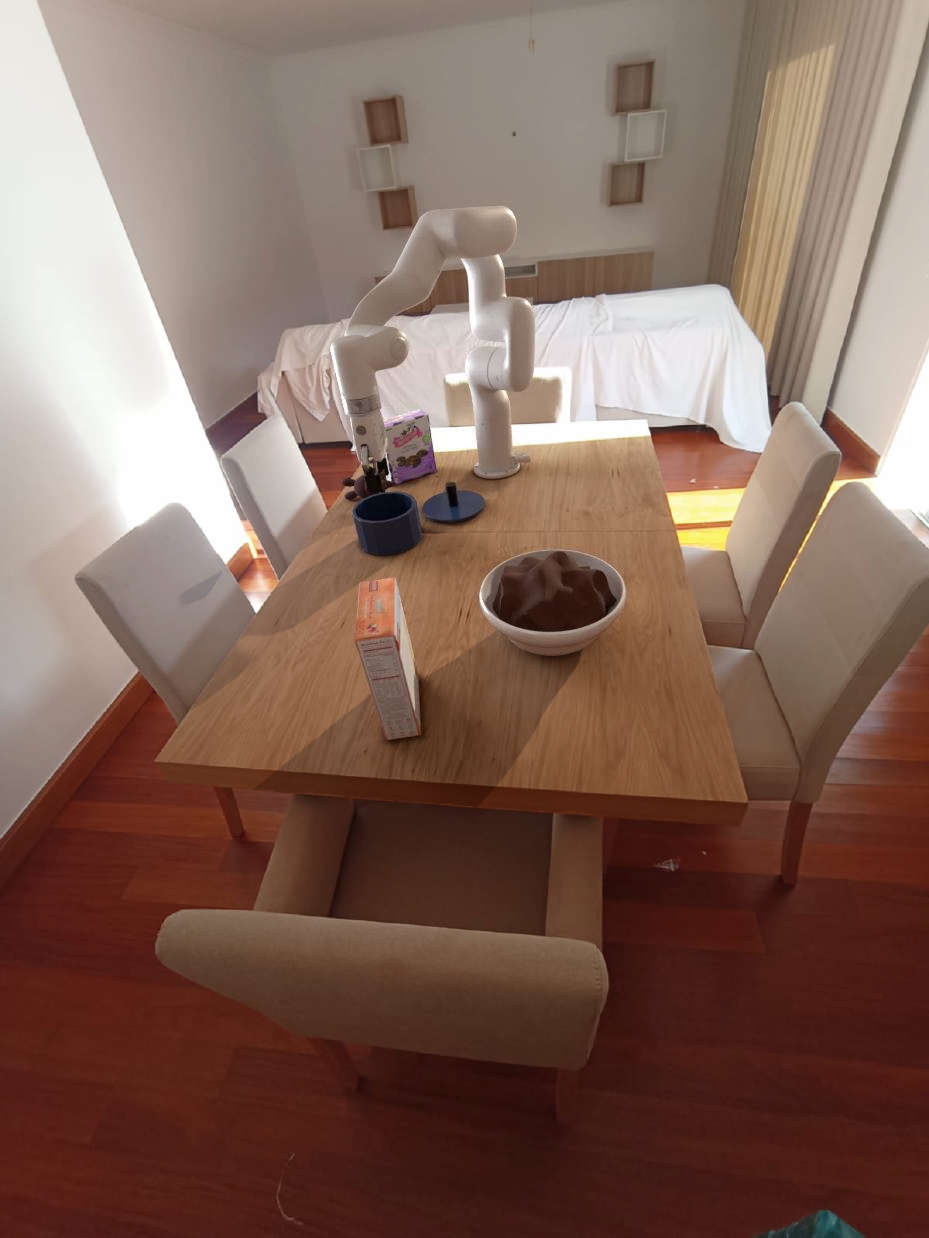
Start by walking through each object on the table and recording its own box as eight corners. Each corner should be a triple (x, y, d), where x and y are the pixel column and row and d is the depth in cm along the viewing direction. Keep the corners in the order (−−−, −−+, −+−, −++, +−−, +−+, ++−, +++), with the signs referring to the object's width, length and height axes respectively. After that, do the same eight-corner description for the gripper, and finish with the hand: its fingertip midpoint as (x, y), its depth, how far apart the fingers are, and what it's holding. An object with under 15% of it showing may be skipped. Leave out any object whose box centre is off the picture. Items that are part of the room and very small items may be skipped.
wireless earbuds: (365, 494, 130) (362, 480, 128) (376, 480, 136) (373, 466, 134) (385, 494, 129) (382, 480, 127) (395, 480, 135) (392, 466, 133)
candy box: (392, 486, 163) (381, 427, 153) (384, 479, 167) (372, 421, 157) (437, 471, 168) (428, 413, 157) (428, 465, 172) (419, 407, 162)
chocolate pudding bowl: (495, 587, 121) (489, 522, 111) (623, 591, 115) (628, 522, 106) (471, 673, 102) (461, 603, 93) (623, 683, 96) (628, 609, 87)
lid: (486, 492, 154) (484, 468, 150) (483, 522, 142) (481, 496, 138) (426, 496, 156) (422, 472, 152) (419, 526, 144) (414, 501, 140)
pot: (425, 521, 146) (419, 489, 140) (417, 553, 134) (411, 520, 129) (366, 525, 148) (359, 493, 142) (354, 557, 136) (345, 524, 131)
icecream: (397, 467, 157) (345, 473, 161) (389, 472, 151) (334, 479, 154) (402, 493, 160) (351, 499, 164) (394, 499, 153) (340, 505, 157)
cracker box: (384, 680, 103) (358, 580, 90) (419, 675, 103) (397, 574, 90) (383, 742, 92) (352, 639, 79) (421, 737, 92) (397, 633, 79)
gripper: (371, 416, 114) (389, 500, 125) (387, 387, 128) (401, 465, 139) (333, 420, 115) (354, 503, 126) (353, 390, 129) (370, 467, 139)
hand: (379, 482), depth 132 cm, fingers closed on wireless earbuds, 7 cm apart
